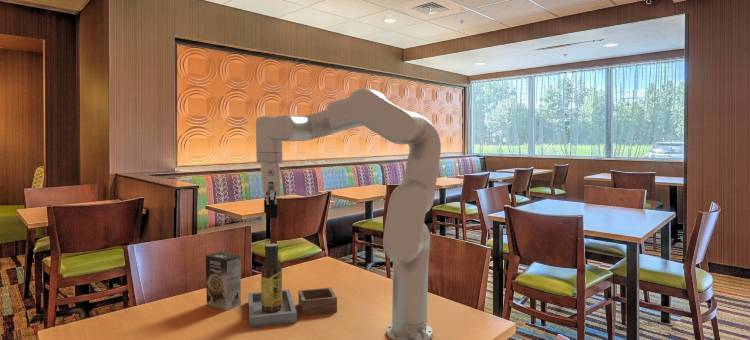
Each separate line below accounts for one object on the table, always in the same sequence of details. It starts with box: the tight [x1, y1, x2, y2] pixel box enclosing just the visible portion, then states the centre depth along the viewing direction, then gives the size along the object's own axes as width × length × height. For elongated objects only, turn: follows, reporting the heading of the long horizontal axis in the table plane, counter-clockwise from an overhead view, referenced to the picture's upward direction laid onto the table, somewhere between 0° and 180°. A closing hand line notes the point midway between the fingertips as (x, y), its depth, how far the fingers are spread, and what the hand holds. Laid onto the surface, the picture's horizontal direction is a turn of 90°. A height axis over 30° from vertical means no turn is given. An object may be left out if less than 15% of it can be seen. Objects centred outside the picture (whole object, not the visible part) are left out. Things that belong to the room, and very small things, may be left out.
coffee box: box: [205, 251, 242, 311], centre depth 139 cm, size 9×6×16 cm
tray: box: [247, 288, 298, 329], centre depth 134 cm, size 20×13×3 cm, turn 17°
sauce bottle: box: [260, 243, 283, 312], centre depth 133 cm, size 7×6×20 cm
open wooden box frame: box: [298, 287, 338, 317], centre depth 137 cm, size 10×10×4 cm
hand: (270, 215), depth 132 cm, fingers open, 9 cm apart
